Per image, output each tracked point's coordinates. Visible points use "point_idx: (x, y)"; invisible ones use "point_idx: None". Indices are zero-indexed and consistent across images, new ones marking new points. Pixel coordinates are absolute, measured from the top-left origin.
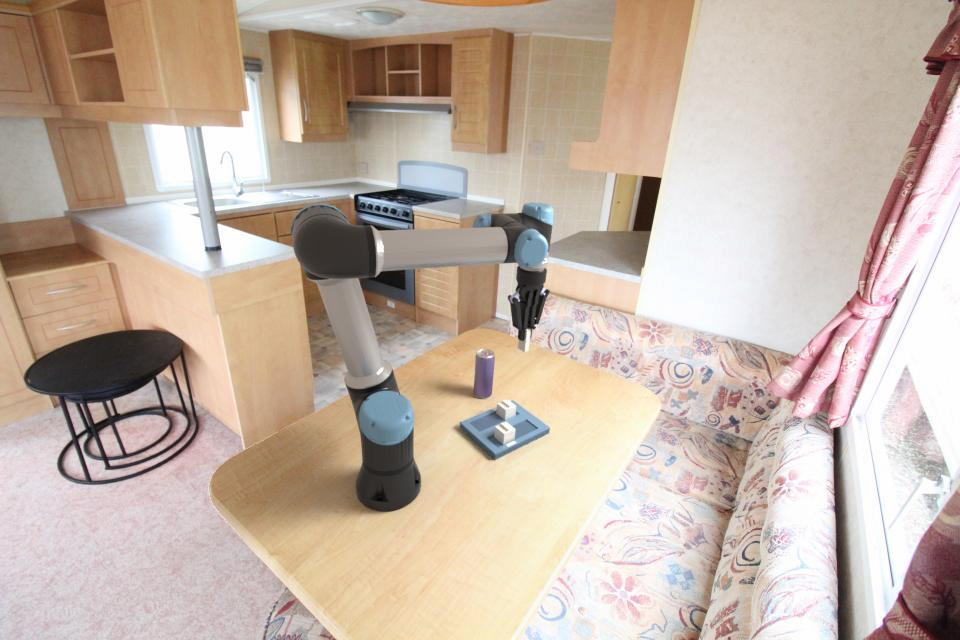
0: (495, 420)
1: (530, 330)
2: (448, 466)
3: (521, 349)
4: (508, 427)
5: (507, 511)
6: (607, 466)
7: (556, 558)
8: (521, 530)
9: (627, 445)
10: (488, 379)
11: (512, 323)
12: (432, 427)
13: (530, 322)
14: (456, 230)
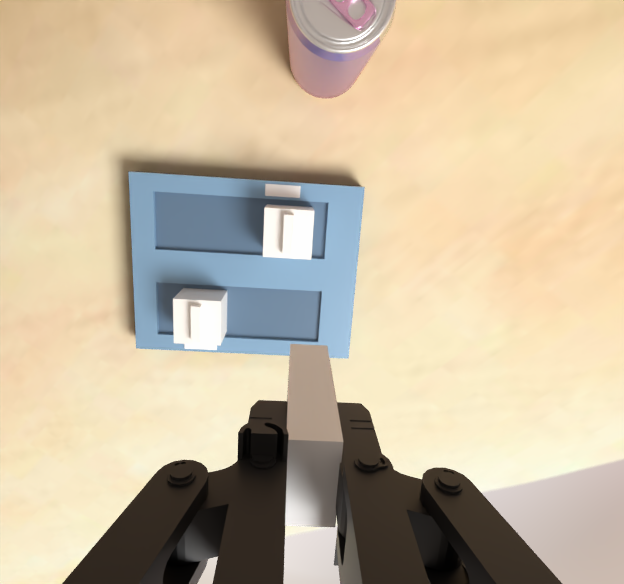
0: (239, 231)
1: (329, 517)
2: (18, 286)
3: (288, 378)
4: (198, 335)
5: (68, 466)
6: None
7: None
8: (64, 510)
9: None
10: (321, 82)
11: (143, 488)
12: (58, 112)
13: (342, 571)
14: None
